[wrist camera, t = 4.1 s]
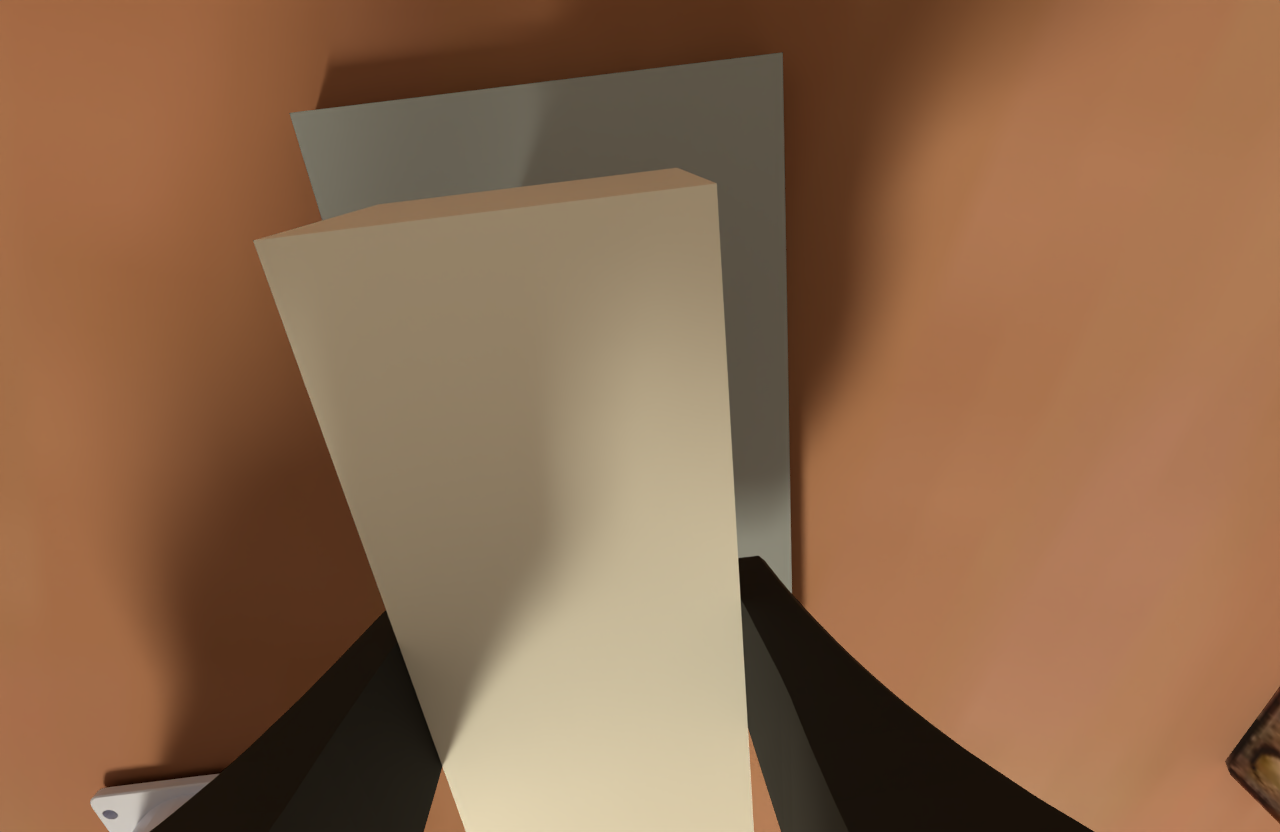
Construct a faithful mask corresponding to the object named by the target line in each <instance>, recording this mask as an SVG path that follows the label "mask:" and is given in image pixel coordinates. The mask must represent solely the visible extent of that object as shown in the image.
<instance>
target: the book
mask: <svg viewBox="0 0 1280 832" xmlns="http://www.w3.org/2000/svg"><path fill="white" fill-rule="evenodd" d="M1225 762H1226V765H1227V767H1228V770H1229V772H1230V775H1231V776H1232V777H1233V778H1234V779H1235V780H1236V781H1237V782H1238V783H1239V784H1240V785H1241V786H1242V787H1243V788H1244V789H1245V790H1246V791H1247V792H1248V793H1249V794H1250V795H1251V796H1252V797H1253V798H1254V799H1255V800H1256V801H1257V802H1258V803H1259V804H1260V805H1261V806H1262V807H1263V808H1264V809H1265V810H1267V811H1268V812H1269V813H1270V814H1271V815H1272V816H1273V817H1274V818H1275V819H1276V820H1277V821H1278V822H1279V823H1280V688H1279V689H1278V690H1277V692H1276V693H1275V694H1274V696H1273V697H1272V698H1271V700H1270V701H1269V703H1268V704H1267V705H1266V707H1265V708H1264V709H1263V711H1262V712H1261V713H1260V715H1259V716H1258V717H1257V719H1256V720H1255V721H1254V723H1253V724H1252V725H1251V727H1250V728H1249V730H1248V731H1247V732H1246V734H1245V735H1244V736H1243V738H1242V739H1241V740H1240V742H1239V743H1238V744H1237V746H1236V747H1235V749H1234V750H1233V751H1232V753H1231V754H1230V755H1229V757H1228V758H1227V759H1226V761H1225Z"/></svg>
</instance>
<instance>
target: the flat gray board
mask: <svg viewBox="0 0 1280 832" xmlns="http://www.w3.org/2000/svg"><path fill="white" fill-rule="evenodd" d="M290 116H291V120H292V123H293V126H294V129H295V133H296V136H297V139H298V142H299V146H300V149H301V152H302V156H303V159H304V162H305V165H306V169H307V172H308V175H309V178H310V182H311V185H312V188H313V191H314V195H315V198H316V201H317V205H318V208H319V211H320V214H321V218H322V221H323V220H326V219H330V218H333V217H337V216H340V215H343V214H347V213H350V212H354V211H357V210H361V209H364V208H368V207H371V206H375V205H378V204H386V203H394V202H403V201H411V200H419V199H427V198H435V197H443V196H451V195H459V194H467V193H476V192H484V191H492V190H500V189H508V188H516V187H524V186H532V185H541V184H549V183H557V182H565V181H573V180H581V179H589V178H597V177H605V176H614V175H622V174H630V173H638V172H646V171H654V170H662V169H670V168H679V169H682V170H684V171H687V172H689V173H692V174H694V175H697V176H699V177H702V178H704V179H707V180H709V181H712V182H714V183H717V197H718V214H719V232H720V249H721V267H722V284H723V302H724V319H725V336H726V354H727V371H728V389H729V406H730V424H731V441H732V459H733V476H734V494H735V511H736V529H737V546H738V558H743V557H751V556H760V557H761V558H762V559H764V560H765V561H766V563H767V564H768V565H769V567H770V568H771V569H772V570H773V572H774V573H775V574H776V575H777V577H778V578H779V579H780V580H781V582H782V583H783V584H784V585H785V586H786V588H787V589H788V590H789V591H790V592H791V593H792V564H791V506H790V448H789V389H788V331H787V273H786V214H785V156H784V98H783V52H782V53H774V54H766V55H758V56H749V57H741V58H733V59H725V60H717V61H709V62H701V63H693V64H684V65H676V66H668V67H660V68H652V69H644V70H636V71H627V72H619V73H611V74H603V75H595V76H587V77H579V78H571V79H562V80H554V81H546V82H538V83H530V84H522V85H514V86H505V87H497V88H489V89H481V90H473V91H465V92H457V93H448V94H440V95H432V96H424V97H416V98H408V99H400V100H392V101H383V102H375V103H367V104H359V105H351V106H343V107H335V108H326V109H318V110H310V111H302V112H294V113H290Z"/></svg>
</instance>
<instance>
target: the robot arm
mask: <svg viewBox="0 0 1280 832" xmlns="http://www.w3.org/2000/svg"><path fill="white" fill-rule="evenodd" d="M738 564H739V581H740V599H741V616H742V634H743V651H744V669H745V686H746V704H747V721H748V729H749V732H750V735H751V739H752V742H753V745H754V748H755V751H756V754H757V757H758V761H759V764H760V767H761V770H762V773H763V776H764V779H765V782H766V786H767V789H768V792H769V795H770V798H771V801H772V804H773V807H774V811H775V814H776V817H777V820H778V823H779V826H780V829H781V832H1094V831H1092V830H1091V829H1089V828H1087V827H1086V826H1084V825H1082V824H1081V823H1079V822H1077V821H1076V820H1074V819H1072V818H1071V817H1069V816H1067V815H1066V814H1064V813H1062V812H1061V811H1059V810H1057V809H1056V808H1054V807H1052V806H1051V805H1049V804H1047V803H1046V802H1044V801H1042V800H1041V799H1039V798H1037V797H1036V796H1034V795H1033V794H1031V793H1030V792H1028V791H1027V790H1025V789H1024V788H1022V787H1021V786H1019V785H1018V784H1016V783H1015V782H1013V781H1012V780H1010V779H1009V778H1007V777H1006V776H1004V775H1003V774H1001V773H1000V772H998V771H997V770H995V769H994V768H992V767H991V766H989V765H988V764H986V763H985V762H983V761H982V760H980V759H979V758H977V757H976V756H974V755H973V754H971V753H970V752H968V751H967V750H965V749H964V748H963V747H961V746H960V745H959V744H957V743H956V742H955V741H953V740H952V739H951V738H949V737H948V736H947V735H945V734H944V733H943V732H941V731H940V730H939V729H937V728H936V727H935V726H933V725H932V724H931V723H929V722H928V721H927V720H926V719H924V718H923V717H922V716H921V715H919V714H918V713H917V712H915V711H914V710H913V709H912V708H910V707H909V706H908V705H907V704H905V703H904V702H903V701H902V700H901V699H899V698H898V697H897V696H896V695H895V694H893V693H892V692H891V691H890V690H889V689H888V688H886V687H885V686H884V685H883V684H882V683H881V682H880V681H878V680H877V679H876V678H875V677H874V676H873V675H872V674H871V673H870V672H868V671H867V670H866V669H865V668H864V667H863V666H862V665H861V664H860V663H859V662H858V661H856V660H855V659H854V658H853V657H852V656H851V655H850V654H849V653H848V652H847V651H846V650H845V649H844V648H843V647H842V646H841V645H840V644H839V643H838V642H837V641H836V640H835V639H834V638H833V637H832V636H831V635H830V634H829V633H828V632H827V631H826V630H825V629H824V628H823V627H822V626H821V625H820V624H819V623H818V622H817V621H816V620H815V619H814V618H813V617H812V616H811V614H810V613H809V612H808V611H807V610H806V609H805V608H804V607H803V606H802V605H801V604H800V602H799V601H798V600H797V599H796V598H795V597H794V596H793V594H792V593H791V592H790V591H789V590H788V589H787V588H786V586H785V585H784V584H783V583H782V582H781V580H780V579H779V578H778V577H777V575H776V574H775V573H774V572H773V570H772V569H771V568H770V567H769V565H768V564H767V563H766V561H765V560H764V559H762V558H761V557H760V556H751V557H743V558H738ZM441 769H442V764H441V761H440V758H439V755H438V753H437V750H436V747H435V744H434V741H433V739H432V736H431V733H430V730H429V728H428V725H427V722H426V719H425V716H424V714H423V711H422V708H421V705H420V703H419V700H418V697H417V694H416V691H415V689H414V686H413V683H412V680H411V678H410V675H409V672H408V669H407V667H406V664H405V661H404V658H403V655H402V653H401V650H400V647H399V644H398V642H397V639H396V636H395V633H394V630H393V628H392V625H391V622H390V619H389V617H388V614H387V611H385V612H384V613H383V614H382V615H381V616H380V617H379V618H378V619H377V620H376V621H375V622H374V623H373V624H372V625H371V626H370V627H369V628H368V629H367V630H366V631H365V632H364V633H363V634H362V635H361V637H360V638H359V639H358V640H357V641H356V642H355V643H354V644H353V645H352V646H351V647H350V648H349V649H348V650H347V651H346V652H345V653H344V654H343V655H342V656H341V658H340V659H339V660H338V661H337V662H336V663H335V664H334V665H333V666H332V667H331V668H330V669H329V670H328V671H327V672H326V673H325V674H324V675H323V676H322V677H321V678H320V679H319V680H318V681H317V682H316V683H315V684H314V685H313V686H312V687H311V688H310V689H309V690H308V691H307V692H306V693H305V694H304V695H303V696H302V697H301V698H300V699H299V700H298V701H297V702H296V703H295V704H294V705H293V706H292V707H291V708H290V709H289V710H288V711H287V712H286V713H285V714H284V715H283V716H282V717H281V718H280V719H278V720H277V721H276V722H275V723H274V724H273V725H272V726H271V727H270V728H269V729H268V730H267V731H266V732H265V733H264V734H263V735H262V736H261V737H260V738H259V739H258V740H256V741H255V742H254V743H253V744H252V745H251V746H250V747H249V748H248V749H247V750H246V751H245V752H244V753H243V754H242V755H240V756H239V757H238V758H237V759H236V760H235V761H234V762H233V763H231V764H230V765H229V766H228V767H227V768H226V769H225V770H223V771H222V772H221V773H219V774H211V775H203V776H195V777H187V778H179V779H171V780H162V781H154V782H146V783H138V784H130V785H122V786H114V787H106V788H102V789H100V790H99V791H97V793H96V794H95V795H94V796H93V798H92V799H91V802H90V803H91V806H92V808H93V809H94V811H95V812H96V814H97V815H98V817H99V818H100V819H101V821H102V822H103V824H104V825H105V826H106V828H107V829H108V831H109V832H424V829H425V825H426V822H427V818H428V815H429V811H430V808H431V804H432V801H433V797H434V794H435V791H436V787H437V783H438V780H439V776H440V773H441Z"/></svg>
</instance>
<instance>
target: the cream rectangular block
mask: <svg viewBox="0 0 1280 832" xmlns="http://www.w3.org/2000/svg"><path fill="white" fill-rule="evenodd" d="M253 242H254V245H255V247H256V250H257V253H258V256H259V258H260V261H261V264H262V267H263V269H264V272H265V275H266V278H267V281H268V283H269V286H270V289H271V292H272V294H273V297H274V300H275V303H276V306H277V308H278V311H279V314H280V317H281V319H282V322H283V325H284V328H285V331H286V333H287V336H288V339H289V342H290V344H291V347H292V350H293V353H294V356H295V358H296V361H297V364H298V367H299V369H300V372H301V375H302V378H303V381H304V383H305V386H306V389H307V392H308V394H309V397H310V400H311V403H312V406H313V408H314V411H315V414H316V417H317V419H318V422H319V425H320V428H321V431H322V433H323V436H324V439H325V442H326V444H327V447H328V450H329V453H330V456H331V458H332V461H333V464H334V467H335V469H336V472H337V475H338V478H339V480H340V483H341V486H342V489H343V492H344V494H345V497H346V500H347V503H348V505H349V508H350V511H351V514H352V517H353V519H354V522H355V525H356V528H357V530H358V533H359V536H360V539H361V542H362V544H363V547H364V550H365V553H366V555H367V558H368V561H369V564H370V567H371V569H372V572H373V575H374V578H375V580H376V583H377V586H378V589H379V592H380V594H381V597H382V600H383V603H384V605H385V608H386V611H387V614H388V617H389V619H390V622H391V625H392V628H393V630H394V633H395V636H396V639H397V642H398V644H399V647H400V650H401V653H402V655H403V658H404V661H405V664H406V667H407V669H408V672H409V675H410V678H411V680H412V683H413V686H414V689H415V691H416V694H417V697H418V700H419V703H420V705H421V708H422V711H423V714H424V716H425V719H426V722H427V725H428V728H429V730H430V733H431V736H432V739H433V741H434V744H435V747H436V750H437V753H438V755H439V758H440V761H441V764H442V766H443V769H444V772H445V775H446V778H447V780H448V783H449V786H450V789H451V791H452V794H453V797H454V800H455V803H456V805H457V808H458V811H459V814H460V816H461V819H462V822H463V825H464V828H465V830H466V832H754V826H753V809H752V791H751V774H750V756H749V739H748V721H747V704H746V686H745V669H744V651H743V634H742V616H741V599H740V581H739V564H738V546H737V529H736V511H735V494H734V476H733V459H732V441H731V424H730V406H729V389H728V371H727V354H726V336H725V319H724V302H723V284H722V267H721V249H720V232H719V214H718V197H717V183H714V182H712V181H709V180H707V179H704V178H702V177H699V176H697V175H694V174H692V173H689V172H687V171H684V170H682V169H679V168H670V169H662V170H654V171H646V172H638V173H630V174H622V175H614V176H605V177H597V178H589V179H581V180H573V181H565V182H557V183H549V184H541V185H532V186H524V187H516V188H508V189H500V190H492V191H484V192H476V193H467V194H459V195H451V196H443V197H435V198H427V199H419V200H411V201H403V202H394V203H386V204H378V205H375V206H371V207H368V208H364V209H361V210H357V211H354V212H350V213H347V214H343V215H340V216H337V217H333V218H330V219H326V220H323V221H319V222H316V223H312V224H309V225H305V226H302V227H298V228H295V229H292V230H288V231H285V232H281V233H278V234H274V235H271V236H267V237H264V238H260V239H257V240H253Z"/></svg>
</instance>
